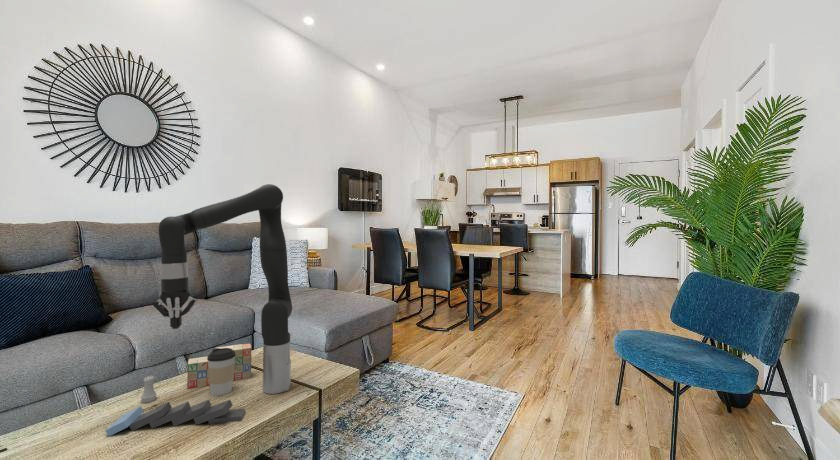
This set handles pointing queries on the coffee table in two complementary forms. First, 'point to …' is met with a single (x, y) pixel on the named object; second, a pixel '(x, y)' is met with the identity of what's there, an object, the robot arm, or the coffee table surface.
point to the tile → (124, 421)
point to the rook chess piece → (148, 390)
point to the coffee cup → (221, 370)
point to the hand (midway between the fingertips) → (176, 328)
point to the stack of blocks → (199, 367)
